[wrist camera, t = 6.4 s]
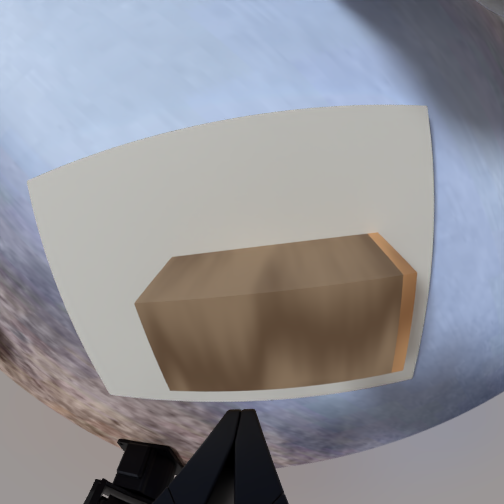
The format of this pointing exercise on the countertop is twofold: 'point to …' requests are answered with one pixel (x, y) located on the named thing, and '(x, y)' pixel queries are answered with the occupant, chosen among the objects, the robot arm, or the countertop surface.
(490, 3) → the teacup
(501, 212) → the countertop surface
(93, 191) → the cutting board
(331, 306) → the walnut block
